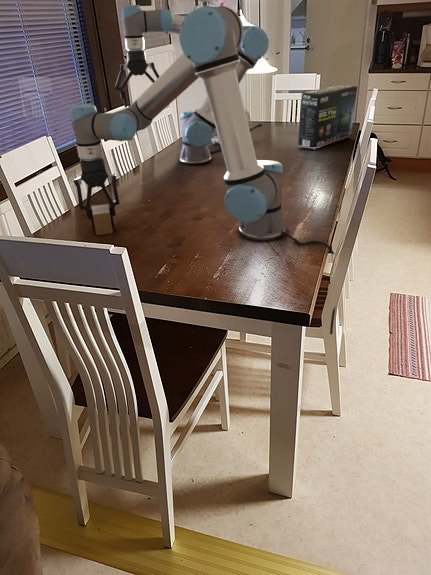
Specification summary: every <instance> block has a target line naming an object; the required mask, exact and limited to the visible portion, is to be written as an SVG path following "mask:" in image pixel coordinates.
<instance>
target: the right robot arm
mask: <svg viewBox="0 0 431 575" xmlns="http://www.w3.org/2000/svg"><path fill="white" fill-rule="evenodd" d="M184 17H185V18H184V20H183V22H182V25H181V27H180V31H179V36H178V42H179V47H180V49H181V51H182V54H180V56H179V57H178V58H177V59H175V61H174V62H173V63H172V64H171V65H170V66H169V67H168V68H167V69H166V70H164V71H163V73H161V75H159V76H160V77H159V78H158V79H157V78H156V80H155V82H154V83H153V82H152V83H151V85H149V86H148V88H146V89H145V91H143V93H141V94H140V95H139V96H138V98H137V99H136V100H135V101H134V102H132V104H130V105H128V106H127V108H125V107H124V108H123V109H119V110H117V111H115V112H98V110H97V107H96V105H94V104H92V103H85V104H84V103H82V104H76V105H73V106H72V107H71V108H70V116H71V124H72V128H73V129H72V130H73V132H74V137H75V141H76V142H75V144H76V150H77V154H78V158H79V165H80V170H81V175H80V176H79V177H74V178H73V184H74V185H75V187H76V194H77V199H78V207H79V209H80V210H84V211H85V212H86V218H87V219H88V220H91V225H92V229H93V230H95V225H94V220H93V215H92V207H91V200H92V192H93V189H94V188H100V189H101V190H102V191H103V194H104V195H105V197H106V199H107V201H108V206H109V211H110V217H111V223H112V227H115V223H114V217H116V215H117V214H116V206H119V205H120V204H121V203H120V198H119V194H118V188H117V174H116V173H108V171H107V169H106V162H105V157H103V156H104V150H103V143H102V140H103V141H117V142H130V141H132V140H133V139H134V137H135V136H136V135H137V134H136V133H137V132H140V131H143V130H145V129H146V128H148V127H149V126H150V125H151V124H152V123H153V120H154V119H155V118H157V116H158V115H159V114H160V113H162V112H163V111H164V110H165V109H166V108H167V107H168V106H169V105H170V104H172V103H173V102H174V101H175V100H176V99H177V98H178V97H179V96H181V95H182V94H183V93H184V92H185V91H186V90H187V89H188V88H189V87H190V86H191V85H192V84H193V83H195V82H196V81H197V80H198V79H199V78H200V79H201V80H202V82H203V86H204V88H205V93H206V96H207V97H208V100H209V104H210V107H211V111H212V115H213V119H214V123H215V126H216V128H215V130H216V134H217V136H218V138H219V141H220V144H219V145H220V148H221V153H222V156H223V160H224V164H225V168H226V172H225V174H224V175H223V181H224V184H225V189H226V192H225V195H224V199H223V202H224V203H223V204H224V208H225V210H226V213H227V214H228V215H229V216H230V217H231V218H232V219H234V220H236V221H237V222H239V225H238V232H239V235H240V236H241V237H242V238H244V239H247V240H250V241H254V242H271V241H277V240H279V239H281V238H283V237H287V238H289V239H290V240H293V241H294V242H295V243H296V244H297V245H298V246H299V245H300V246H306V245H309V244H320V245H324V246H325V247H326V249H328V251H329V252H330V254H331V255H335V252H334V251H333V249H332V248H331V246H330V245H329V244H328V243H326V242H324V241H320V240H312V239H311V240H309V241H308V240H307V241H305V242H301V241H299V240H298V239H296V238H295V237H294V236H292V235H290V234H288V233H287V223H286V221H285V216H284V214H283V210H282V200H283V181H284V180H283V179H284V168H283V167H284V166H283V164H282V163H281V162H279V161H276V160H270V159H257V156H256V152H255V147H254V144H253V138H252V135H251V130H249V128H250V126H249V121H248V117H247V113H246V109H245V104H244V100H243V96H242V92H241V88H240V83H238V79H237V75H236V67H237V65H238V63H239V56H238V52H237V49H238V48H239V46H240V45H241V42H242V39H243V26H244V25H243V22H242V19H241V17H240V16H239V14H238V13H237V12H236V11H234V10H233V9H232V8H230V7H228V6H210V5H204V6H200V7H197V8H195V9H193V10H190V12H188V14H186V15H185V16H184ZM107 179H109V181H110V182H111V187H112V191H113V196H114V200H113V198H112V196H111V194H110V192H109V190H108V187H107V186H106V184H105V183H106V181H107ZM82 182H84V183H85V184H86V185H87V190H86V197H85V198H86V199H85V204H84V199H83V194H82V188H81V187H82V186H81V185H82ZM331 312H332V313H331V321H330V328H329V334H330V335H333V330H334V321H335V314H336V305H335V306H334V308H333V309H332V311H331Z"/></svg>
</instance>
